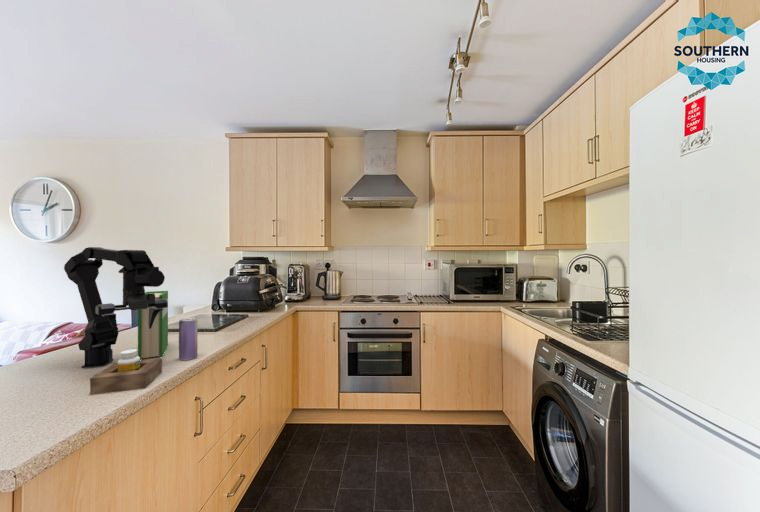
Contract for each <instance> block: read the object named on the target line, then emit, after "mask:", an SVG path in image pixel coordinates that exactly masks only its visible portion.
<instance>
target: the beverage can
mask: <svg viewBox="0 0 760 512" xmlns="http://www.w3.org/2000/svg"><path fill="white" fill-rule="evenodd" d="M198 327H199V326H198V317H184V318H180V319H179V322H178V359H179V360H180V361H190V360H194V359H196V358H197V357H198V347H199V346H198V341H199V340H198Z"/></svg>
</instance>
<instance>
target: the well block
mask: <svg viewBox="0 0 760 512" xmlns="http://www.w3.org/2000/svg"><path fill="white" fill-rule="evenodd" d="M162 372H163V359H162V358H154V359H144V360H143V359H142V360H141V361H140V369H139V370H136V371H126V372H118V362H114V363H112V364H110V365H109V366H107V367H106V368H104V369H103V370H101V371H100V372H98V373H96V374H95V375H93V376H91V377H90V378H89V379H90V380H89V385H90V386H89V389H90V390H89V394H90V395H97V394H105V393H107V394H108V393H114V392H121V391H122V392H123V391H124V392H125V391H133V390H140V389H141V390H142V389H146V388H147V387H148V386H150V384H151V383H152V382H153V381H154V380H156V378H158V377H159V375H160V374H161V373H162ZM132 389H133V390H132Z"/></svg>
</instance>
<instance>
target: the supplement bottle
mask: <svg viewBox="0 0 760 512" xmlns="http://www.w3.org/2000/svg"><path fill="white" fill-rule="evenodd" d="M117 363H118V372H126V371H136V370H139V369H140V357H139V356H138V349H136V348H135V349H134V348H133V349H127V350H123V351H121V352H120V359H119V360H118V361H117Z"/></svg>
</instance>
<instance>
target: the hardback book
mask: <svg viewBox="0 0 760 512" xmlns="http://www.w3.org/2000/svg"><path fill="white" fill-rule="evenodd" d="M153 293H154V294H155V299H165V300H167V302H168V303H169V291H168V290H155V291H154V290H153V291H145V294H146V295H147V294H153ZM149 308H151V307H148V308H147V309H137V351H138V354H137V356H139V357H140V360H141V359H142V360H143V359H145V358H146V359H147V358H153V357H158V358H159V357H162V358H163V357H164V355H165V353H166V351H165V350H167V349H166V348H168V347H169V306H168V307H167V308H163V310H161V311H160V312H159V313H158V314H157V316H156V317H155V320H154V322H153V325H152V327H151V329H149V326H148V321H149ZM167 346H168V347H167ZM164 352H165V353H164ZM163 354H164V355H163Z"/></svg>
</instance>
